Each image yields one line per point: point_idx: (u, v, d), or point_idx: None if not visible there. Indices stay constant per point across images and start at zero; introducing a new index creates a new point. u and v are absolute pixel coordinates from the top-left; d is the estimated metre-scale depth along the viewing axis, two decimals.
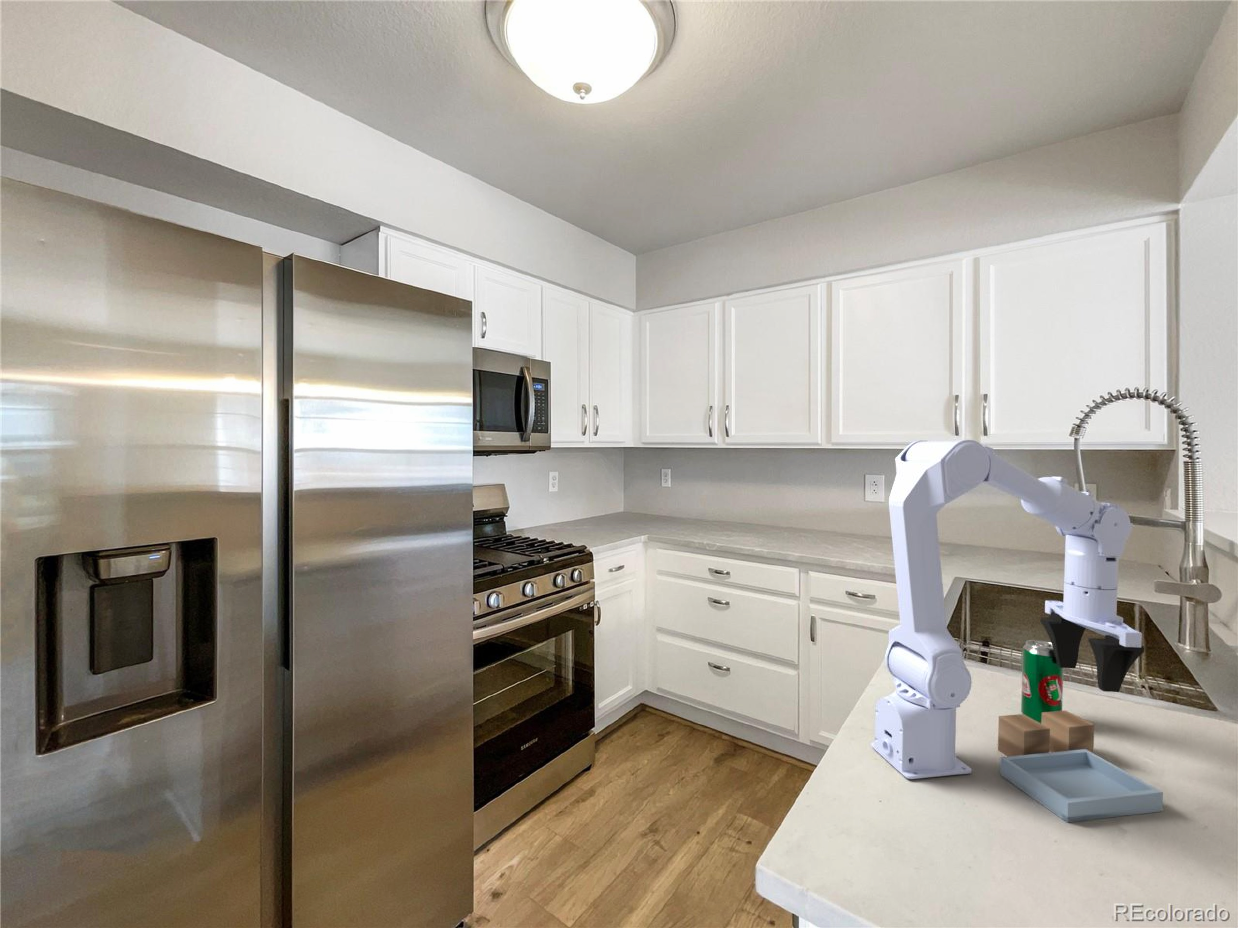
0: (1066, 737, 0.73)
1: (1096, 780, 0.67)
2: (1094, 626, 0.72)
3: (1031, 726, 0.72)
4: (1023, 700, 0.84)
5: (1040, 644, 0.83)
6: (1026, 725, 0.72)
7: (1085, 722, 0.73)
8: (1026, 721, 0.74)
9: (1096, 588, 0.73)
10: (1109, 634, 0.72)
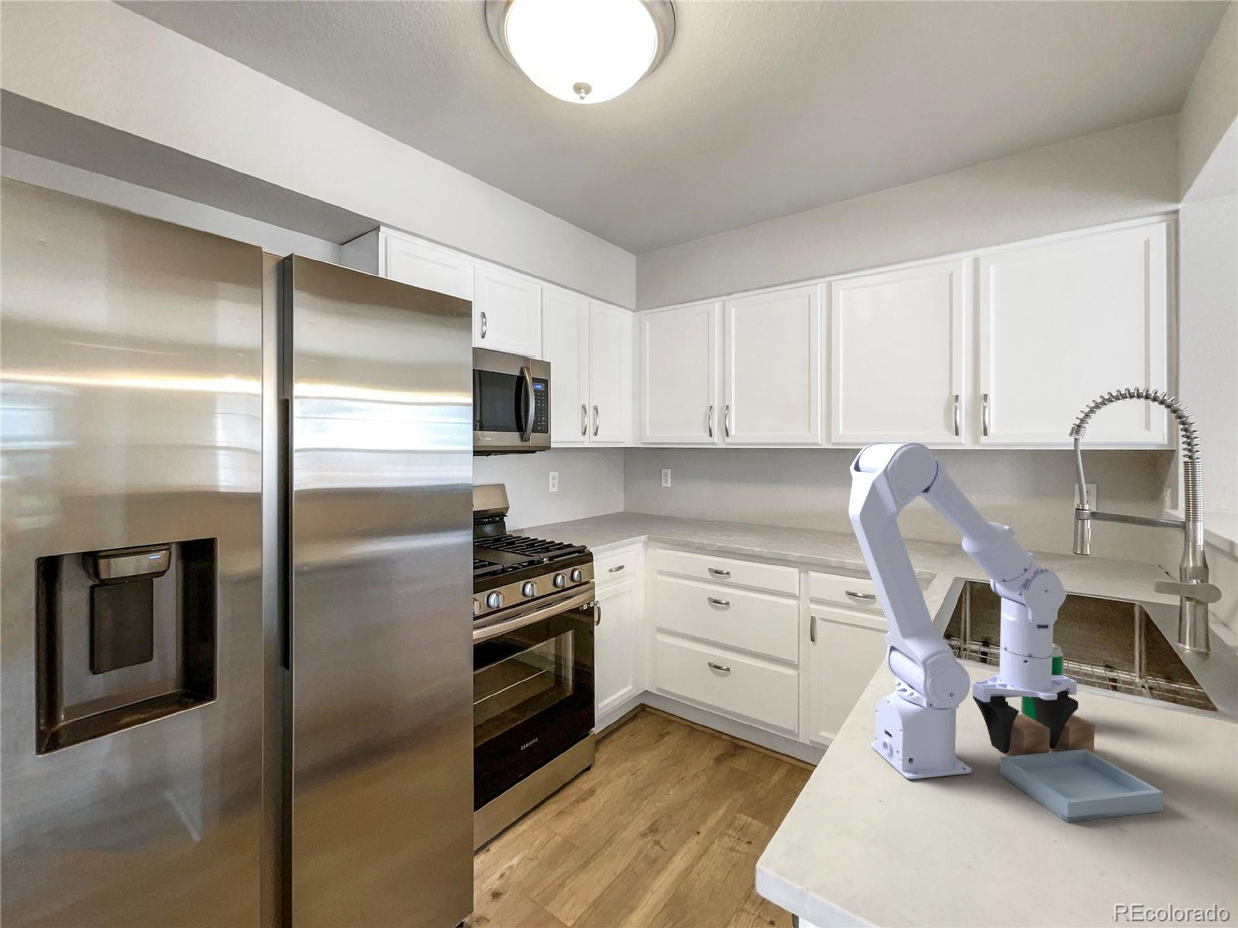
0: (1066, 738, 0.73)
1: (1096, 780, 0.67)
2: (990, 680, 0.75)
3: (1031, 726, 0.72)
4: (1023, 700, 0.84)
5: None
6: (1026, 725, 0.72)
7: (1086, 722, 0.73)
8: (1026, 721, 0.74)
9: (1001, 647, 0.74)
10: None
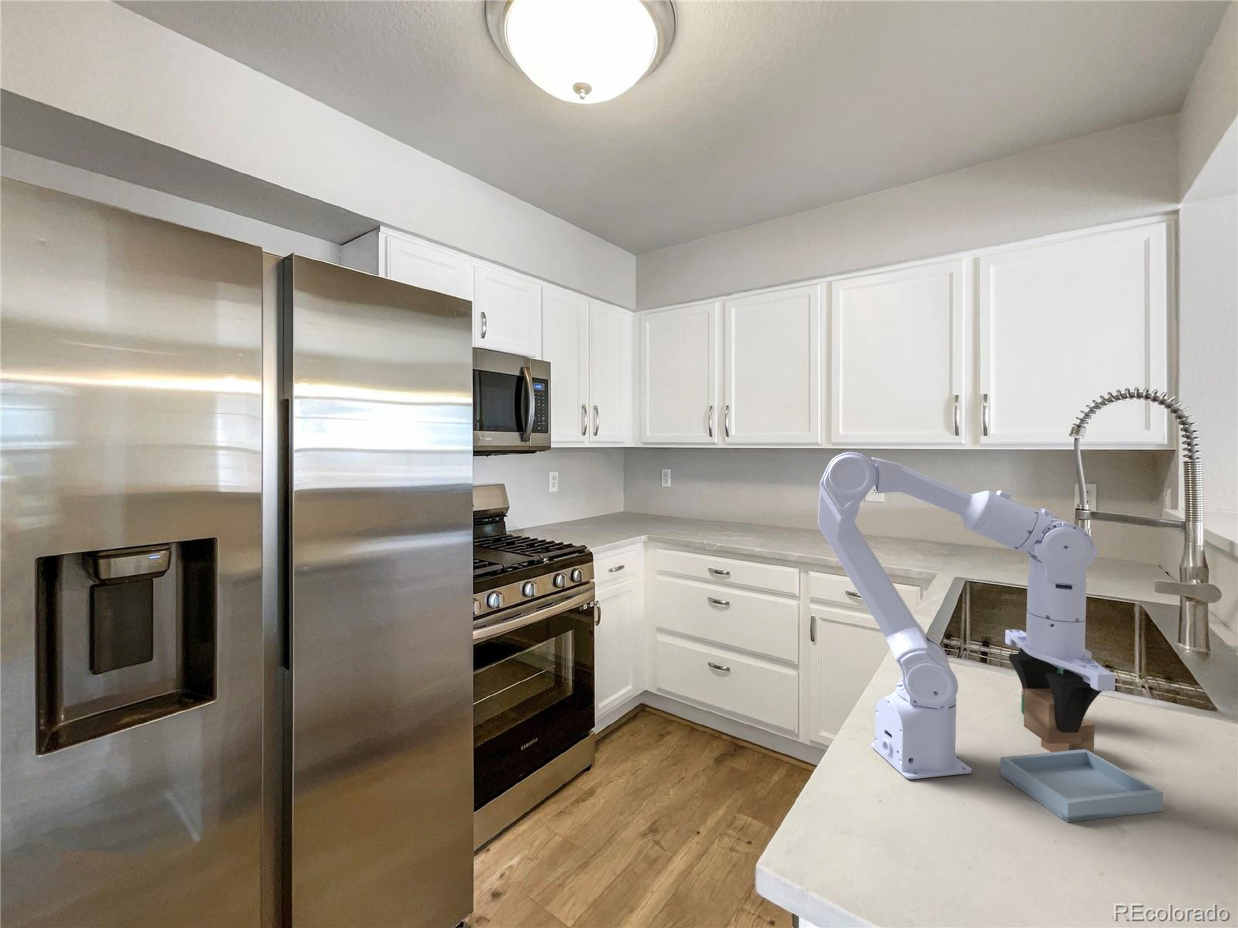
0: None
1: (1096, 780, 0.67)
2: (1061, 664, 0.63)
3: None
4: (1023, 700, 0.84)
5: None
6: None
7: (1085, 722, 0.73)
8: (1048, 694, 0.67)
9: (1063, 620, 0.64)
10: (1078, 673, 0.63)
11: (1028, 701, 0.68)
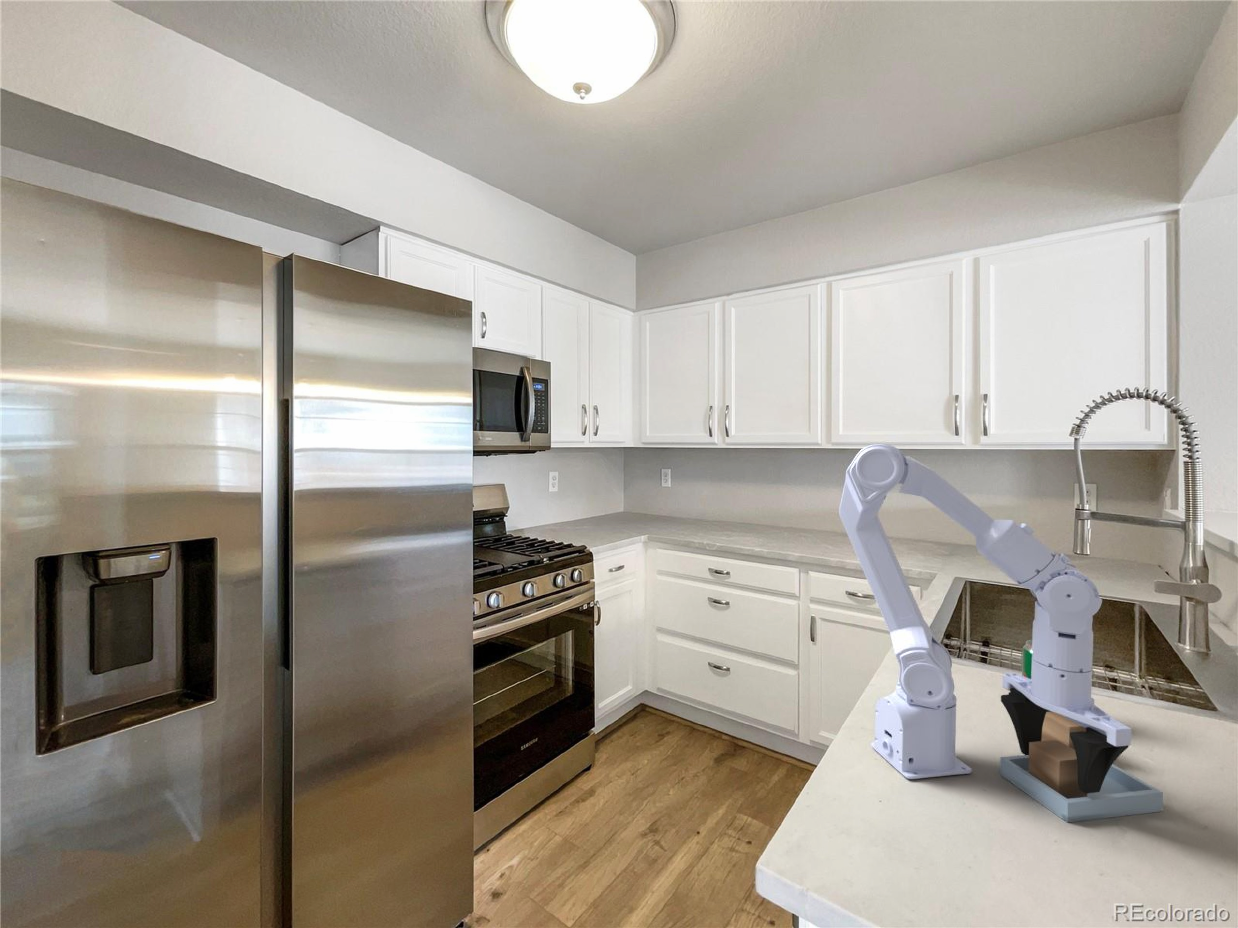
0: (1066, 737, 0.73)
1: None
2: (1074, 717, 0.62)
3: (1066, 749, 0.66)
4: None
5: None
6: (1068, 751, 0.65)
7: None
8: (1053, 747, 0.66)
9: (1074, 671, 0.62)
10: (1090, 726, 0.61)
11: (1034, 756, 0.67)
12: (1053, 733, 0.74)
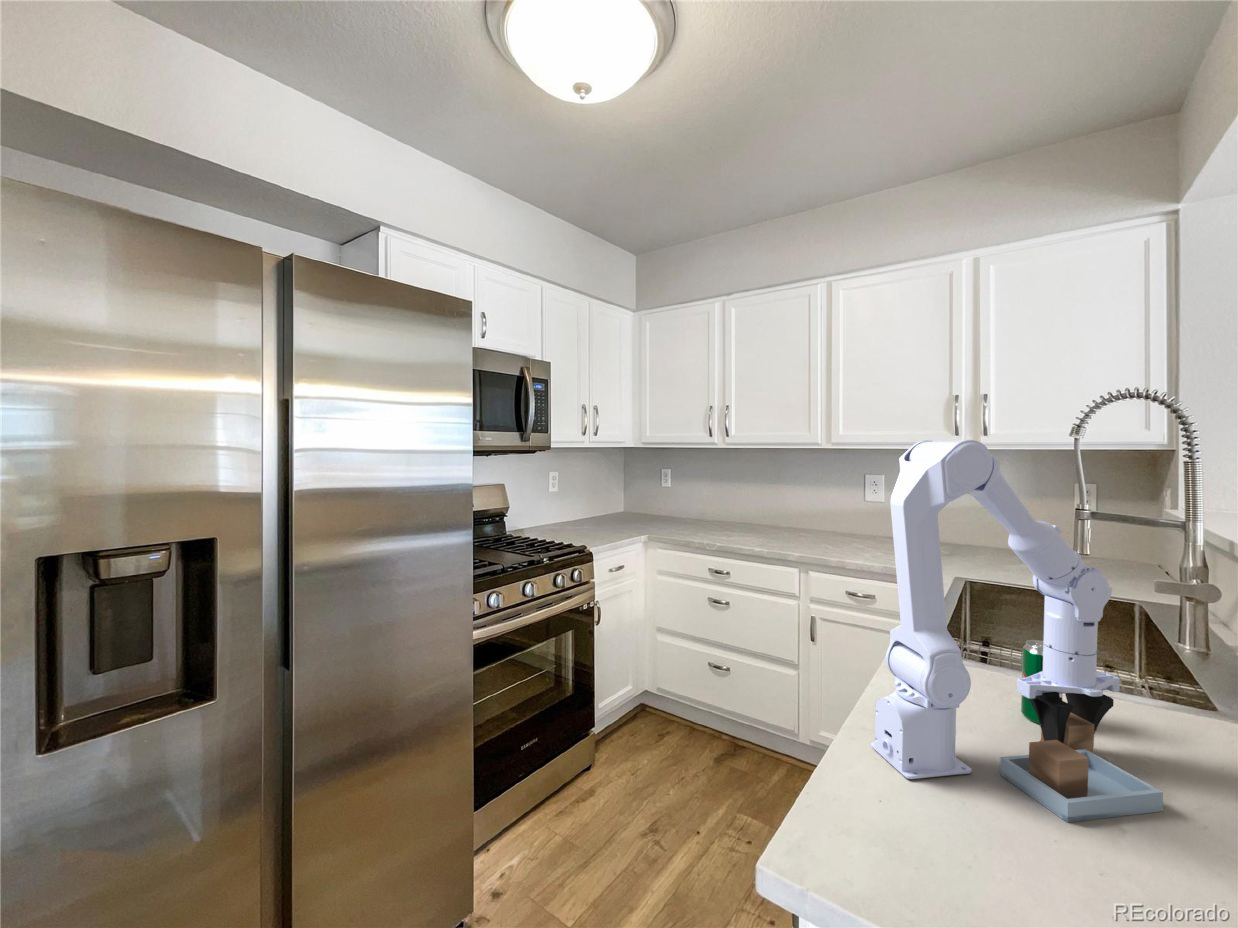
0: (1066, 737, 0.73)
1: (1096, 780, 0.67)
2: (1033, 677, 0.76)
3: (1066, 749, 0.66)
4: (1023, 700, 0.84)
5: (1040, 644, 0.83)
6: (1068, 751, 0.65)
7: (1085, 722, 0.73)
8: (1053, 747, 0.66)
9: (1045, 644, 0.75)
10: None
11: (1034, 756, 0.67)
12: None
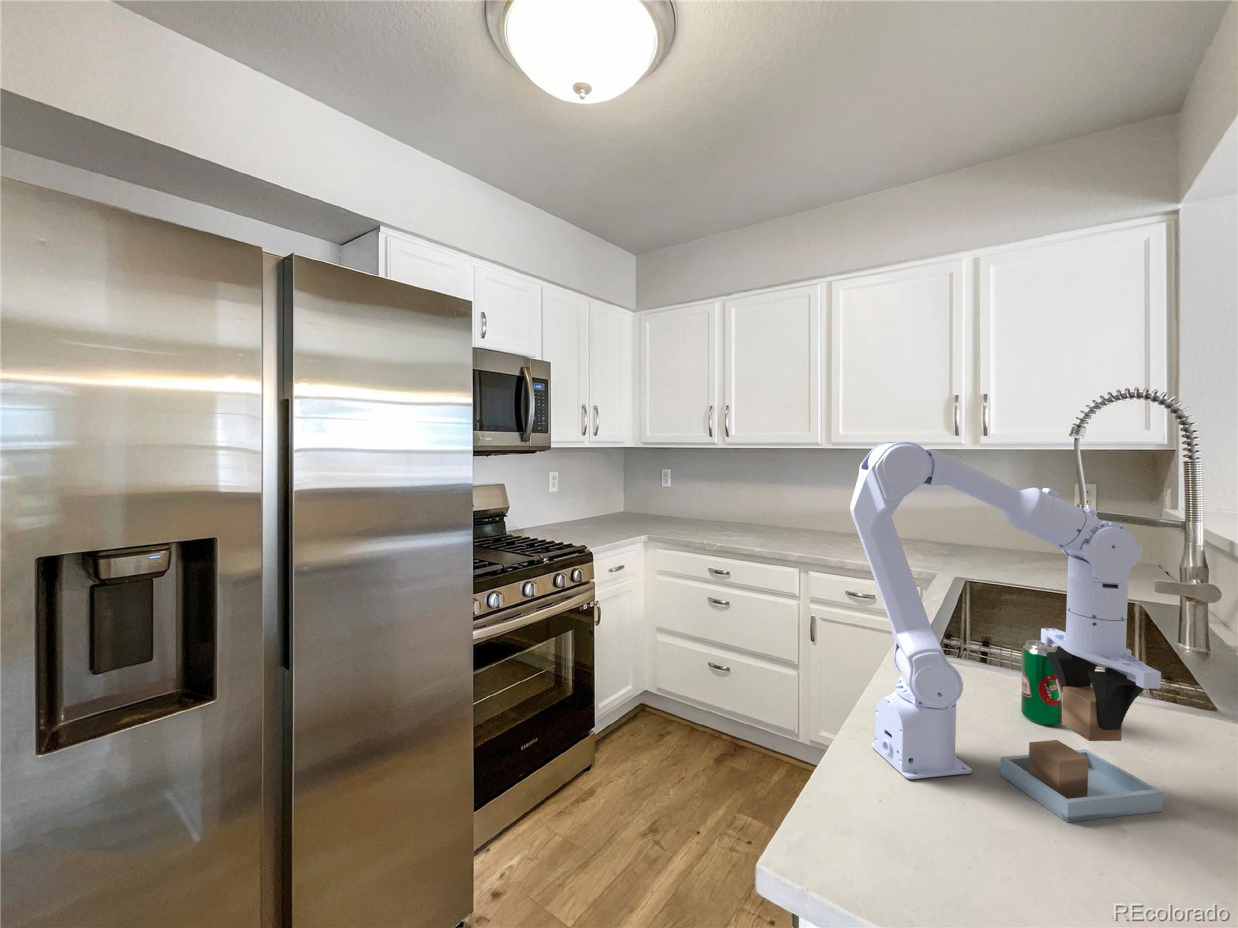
0: None
1: (1096, 780, 0.67)
2: (1105, 663, 0.64)
3: (1066, 749, 0.66)
4: (1023, 700, 0.84)
5: (1040, 644, 0.83)
6: (1068, 751, 0.65)
7: (1091, 688, 0.69)
8: (1053, 747, 0.66)
9: (1106, 619, 0.64)
10: (1121, 672, 0.63)
11: (1034, 756, 0.67)
12: None
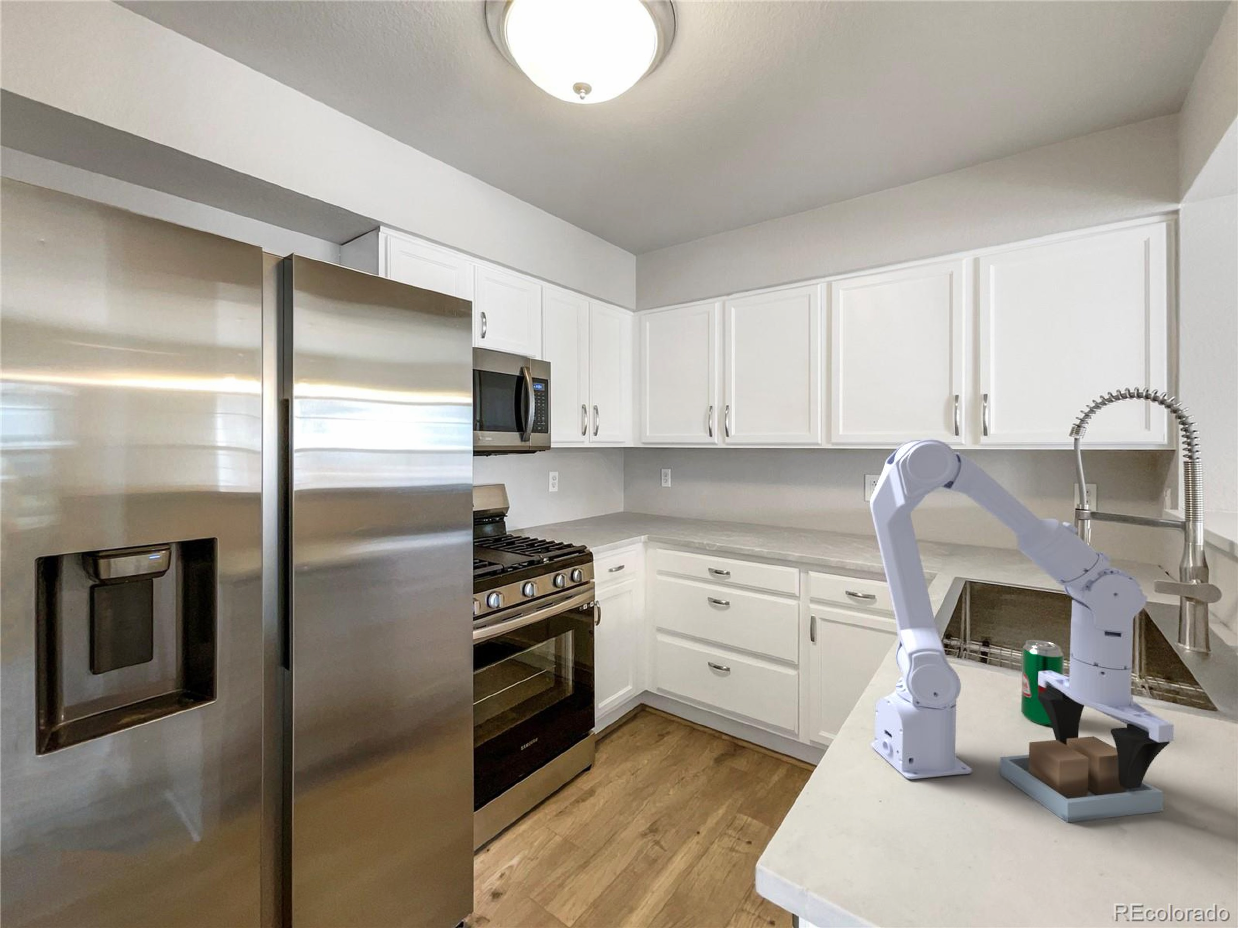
0: None
1: None
2: (1115, 714, 0.62)
3: (1066, 749, 0.66)
4: (1023, 700, 0.84)
5: (1040, 644, 0.83)
6: (1068, 751, 0.65)
7: (1093, 739, 0.68)
8: (1053, 747, 0.66)
9: (1114, 668, 0.63)
10: (1131, 722, 0.62)
11: (1034, 756, 0.67)
12: (1111, 772, 0.64)
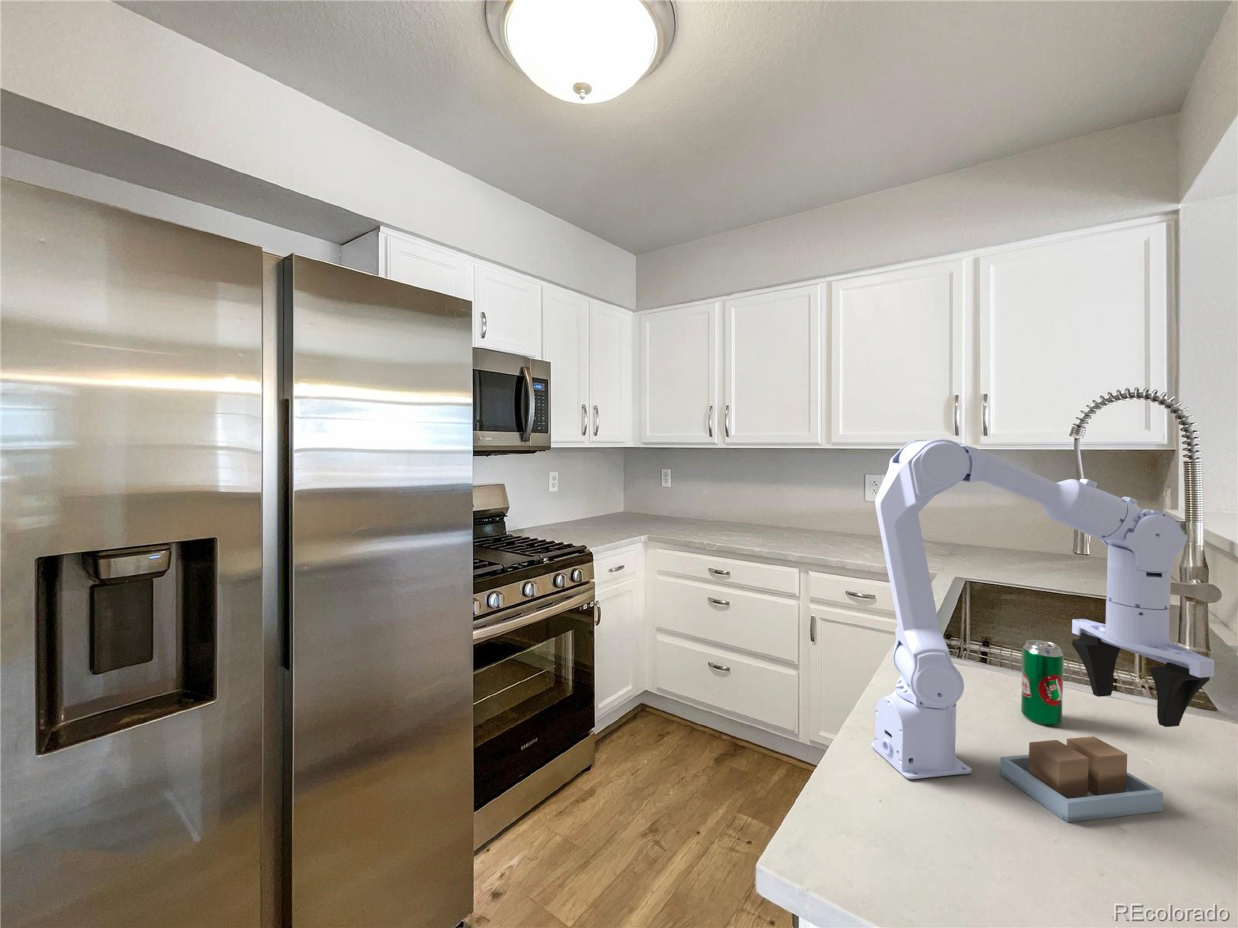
0: (1124, 768, 0.65)
1: None
2: (1154, 653, 0.63)
3: (1066, 749, 0.66)
4: (1023, 700, 0.84)
5: (1040, 644, 0.83)
6: (1068, 751, 0.65)
7: (1093, 739, 0.68)
8: (1053, 747, 0.66)
9: (1153, 608, 0.64)
10: (1170, 661, 0.63)
11: (1034, 756, 0.67)
12: (1111, 772, 0.64)
